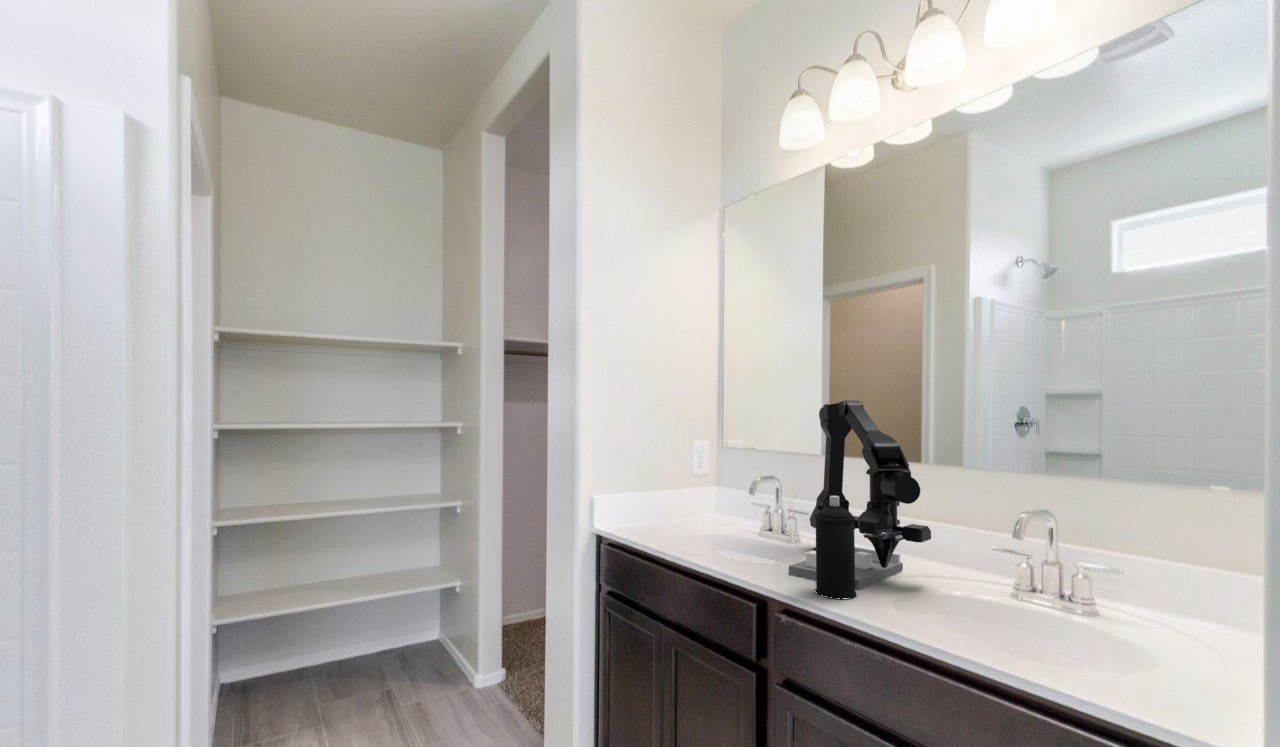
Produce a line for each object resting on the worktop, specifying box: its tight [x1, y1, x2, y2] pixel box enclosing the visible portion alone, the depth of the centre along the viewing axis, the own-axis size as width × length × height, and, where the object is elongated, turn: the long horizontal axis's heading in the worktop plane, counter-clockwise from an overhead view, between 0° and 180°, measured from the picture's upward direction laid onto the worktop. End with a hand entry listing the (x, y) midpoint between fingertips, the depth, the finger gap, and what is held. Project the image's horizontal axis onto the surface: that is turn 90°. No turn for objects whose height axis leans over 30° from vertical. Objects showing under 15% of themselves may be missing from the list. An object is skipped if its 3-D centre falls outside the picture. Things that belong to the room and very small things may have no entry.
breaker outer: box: [805, 550, 816, 568], centre depth 145 cm, size 3×3×3 cm
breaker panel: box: [788, 546, 904, 591], centre depth 147 cm, size 22×17×4 cm
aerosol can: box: [814, 496, 857, 600], centre depth 131 cm, size 8×8×20 cm
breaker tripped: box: [855, 552, 872, 569], centre depth 144 cm, size 3×3×3 cm
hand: (884, 567), depth 141 cm, fingers closed
